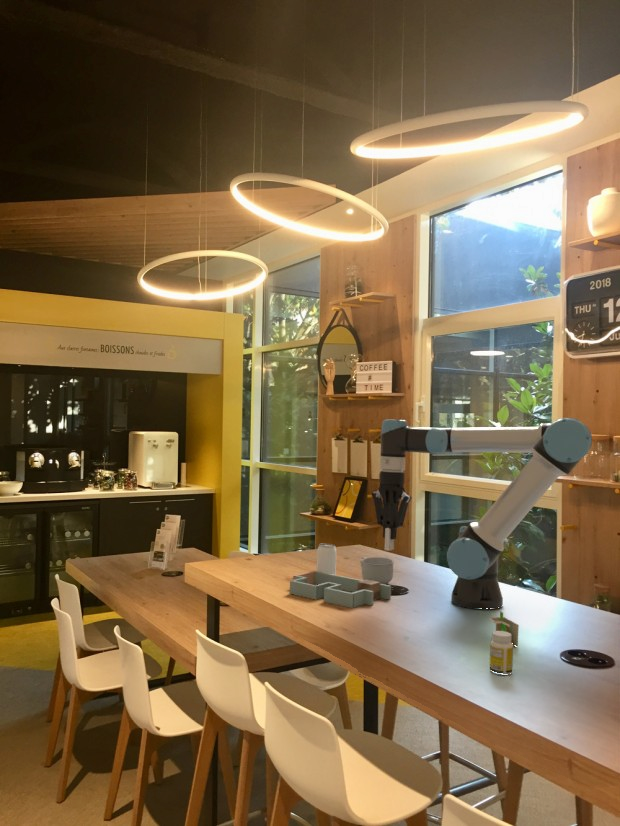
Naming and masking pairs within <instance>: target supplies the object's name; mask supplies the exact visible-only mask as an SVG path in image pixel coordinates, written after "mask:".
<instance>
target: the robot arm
mask: <svg viewBox="0 0 620 826" xmlns="http://www.w3.org/2000/svg"><path fill="white" fill-rule="evenodd" d="M592 444H593V437H592V433H591V431H590V428H589V426H587V425H586V424H584V423H583V422H582V421H580V420H579V419H577V418H572V417H562V418H558V419H556V420H555V421H553V422H551V423H550V422H549V423H548V422H547V423H545V422H544V423H543V422H542V423H540V424H539V425H538V426H516V427H515V426H513V427H512V426H510V427H509V426H506V427H504V426H499V427H498V426H497V427H496V426H495V427H492V426H490V427H434V426H433V427H425V426H422V427H419V426H418V427H417V426H408V422H407V420H405V419H389V418H387V419H384V420H383V421H382V423H381V432H380V454H379V455H380V459H379V460H380V461H379V469H380V471H379V476H378V477H379V481H378V482H379V486H378V490H377V491H374V492H372V493H371V497H372V499H373V503H374V508H375V515H376V521H377V524H378V526H379V525H380V526H381V527H382V528H383V529H382V538H383V539H384V551H393V550H395V549H394V548H395V540H396V539H397V533H398V531H397V530H398V528H401V527H403V526H404V522H405V519H406V518H405V517H406V514H407V510H408V506H409V503H410V502H411V500H412V496H411V495H408V494H407V493H406V492H405V488H404V486H405V478H406V476H405V475H406V474H405V472H404V471H405V470H406V454H407V453H423V454H432V455H436V454H439V455H440V454H441V455H443V454H444V453H520V454H521V453H527V454H528V453H529V454H531V453H532V457H531V458H530V460H528V461H527V463H526V464H525V465H524V467H522V469H521V470H520V471H519V473H518V474H517V475H516V476H515V478H514V479H513V480H512V481H511V482H510V483H509V485H508V486H507V487H506V489H504V490H503V492H502V493H501V494H500V496H499V497H498V498H497V499H496V500H495V502H494V503H493V504H492V505H491V506H490V508H488V510H487V511H486V512H485V513H484V515H483V516H481V518H480V519H479V521H474V522H470V523H469V524H468V525H467V526H466V525H463V526H460V528H459V532H458V537H457V539H455V540H454V541H452V542H451V543H450V545H449V546H448V549H447V552H446V561H447V565H448V567H449V569H450V570H451V571H452V573H454V575H456V576H457V578H456V581H455V583H454V586H453V590H452V592H451V597H450V598H451V600H450V601H451V602H452V604H454V605H456V606H458V605H460V606H459V607H462V606H464V607H463V608H466V607H469V608H468V609H472V608H482V609H481V610H483V609H486V608H488V609H490V608H498V607H501V606H502V605H504V604H503V603H504V600H503V599H504V598H503V593H502V592H501V587H500V585H499V579H498V572H499V571H498V568H499V557H500V555H501V554H502V553H503V551H504V550H505V548H504V547H505V546H504V542H505V540H506V539H507V538H508V537H509V536H510V535H511V534H512V532H513V531H514V530H515V529H516V528H517V526H518V525H519V524H520V523H521V522H522V521H523V519H524V518H525V517H526V516H527V515H528V514H529V512H530V511H531V510H532V509H533V508H534V506H535V505H536V504H537V503H538V502H539V501H540V499H541V498H542V497H543V496H544V494H545V493H546V492H547V491H548V490H549V488H551V486H552V485H553V484H554V483H555V482H556V480H557V479H558V478H559V477H562V476H563V477H564V476H568V475H569V474H571V472H572V471H573V470H574V468H576V466H577V465H578V464H579V463H580V461H581V460H582V459H583V458H585V456H586V455H587V454H588V453H589V451H590V450H591V448H592ZM400 500H401V502H400ZM502 607H503V606H502ZM502 607H501V608H502ZM498 609H499V608H498ZM490 610H491V609H490Z"/></svg>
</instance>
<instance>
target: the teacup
mask: <svg viewBox="0 0 620 826" xmlns="http://www.w3.org/2000/svg"><path fill="white" fill-rule="evenodd" d="M394 562H395V561H394V560H393V559H391V558H388V557H380V556H374V557H373V556H372V557H366V556H365V557H362V558H361V559H360V566H361V577H362V580H366V579H367V580H372V581H377V582H380V584H384V585H388V584H389V583H390V582H391V581H392V580H393V577H394V564H395V563H394Z"/></svg>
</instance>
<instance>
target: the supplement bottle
mask: <svg viewBox="0 0 620 826" xmlns="http://www.w3.org/2000/svg"><path fill="white" fill-rule="evenodd" d="M491 639H492V640H491V641H490V644H489V648H490V649H489V650H490V652H489V671H490V670H492V671H494V672H497V673H503V674H510V673H512V674H513V665H514V664H513V663H514V662H513V660H514V659H513V658H514V657H513V656H514V648H513V647H514V646H513V644H512V643H511V634H510V633H509V632H505V631H496V630H494V631H492V635H491Z"/></svg>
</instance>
